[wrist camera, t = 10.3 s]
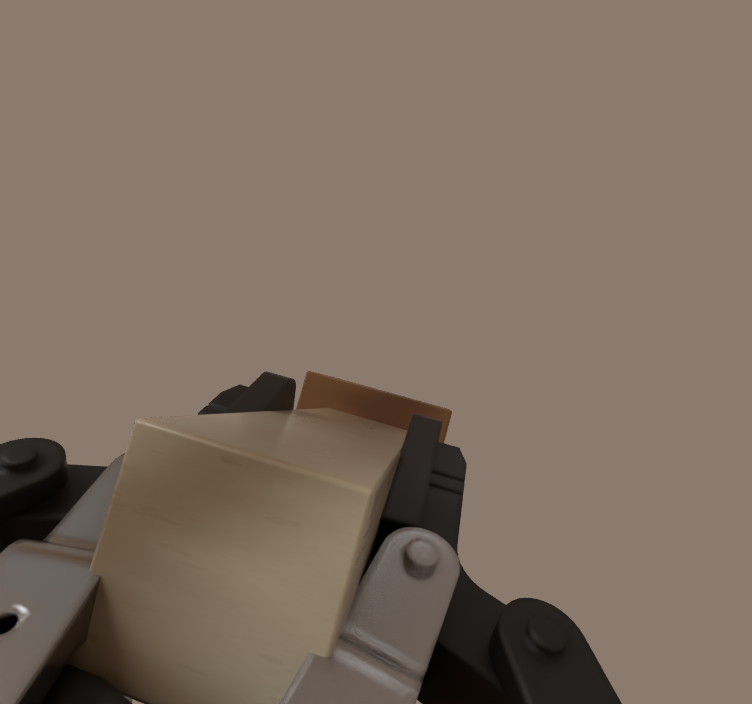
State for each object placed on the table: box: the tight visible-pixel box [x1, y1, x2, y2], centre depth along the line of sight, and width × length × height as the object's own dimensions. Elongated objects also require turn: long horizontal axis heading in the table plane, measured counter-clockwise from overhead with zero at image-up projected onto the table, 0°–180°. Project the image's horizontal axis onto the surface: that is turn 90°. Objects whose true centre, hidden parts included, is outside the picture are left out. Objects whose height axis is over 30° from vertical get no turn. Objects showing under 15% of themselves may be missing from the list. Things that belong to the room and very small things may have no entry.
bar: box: [67, 371, 452, 704], centre depth 13 cm, size 5×16×4 cm, turn 173°
